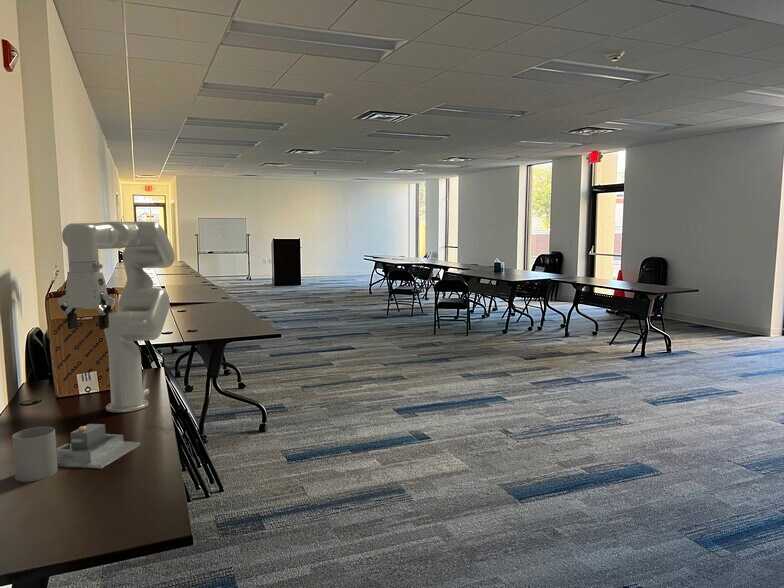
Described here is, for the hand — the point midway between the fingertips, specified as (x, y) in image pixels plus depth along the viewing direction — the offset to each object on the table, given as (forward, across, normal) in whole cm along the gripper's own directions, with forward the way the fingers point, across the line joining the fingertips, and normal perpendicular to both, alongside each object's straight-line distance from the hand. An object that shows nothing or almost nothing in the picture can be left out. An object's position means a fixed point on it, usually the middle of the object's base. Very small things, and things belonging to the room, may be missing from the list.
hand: (88, 328), depth 162 cm
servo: (+28, -11, +18) cm, 36 cm away
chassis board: (+29, -12, +18) cm, 36 cm away
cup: (+29, -7, +32) cm, 44 cm away
